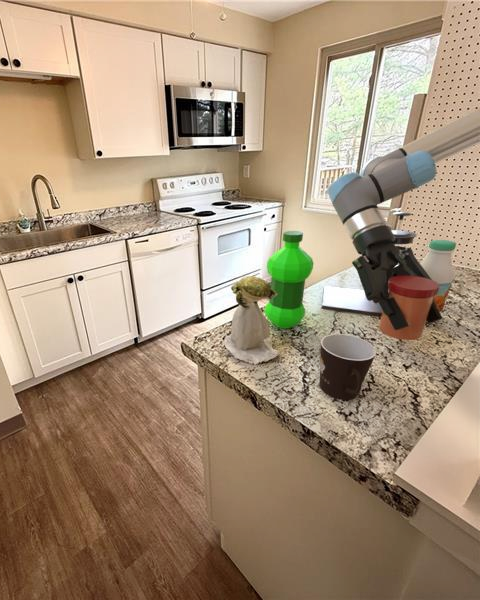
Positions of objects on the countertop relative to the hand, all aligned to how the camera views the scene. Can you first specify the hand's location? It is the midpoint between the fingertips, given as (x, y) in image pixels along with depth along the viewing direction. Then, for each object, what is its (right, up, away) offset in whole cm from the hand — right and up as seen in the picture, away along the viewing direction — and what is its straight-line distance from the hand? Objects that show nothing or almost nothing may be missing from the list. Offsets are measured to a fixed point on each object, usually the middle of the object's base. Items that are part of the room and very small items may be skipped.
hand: (418, 324), depth 65 cm
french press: (+19, +9, +34) cm, 40 cm away
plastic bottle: (-20, -1, +20) cm, 28 cm away
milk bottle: (+15, +1, +17) cm, 22 cm away
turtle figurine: (-32, -7, +11) cm, 34 cm away
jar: (0, -2, +5) cm, 5 cm away
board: (+4, +5, +27) cm, 28 cm away
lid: (-2, +9, 0) cm, 9 cm away
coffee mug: (-21, -13, -5) cm, 25 cm away
